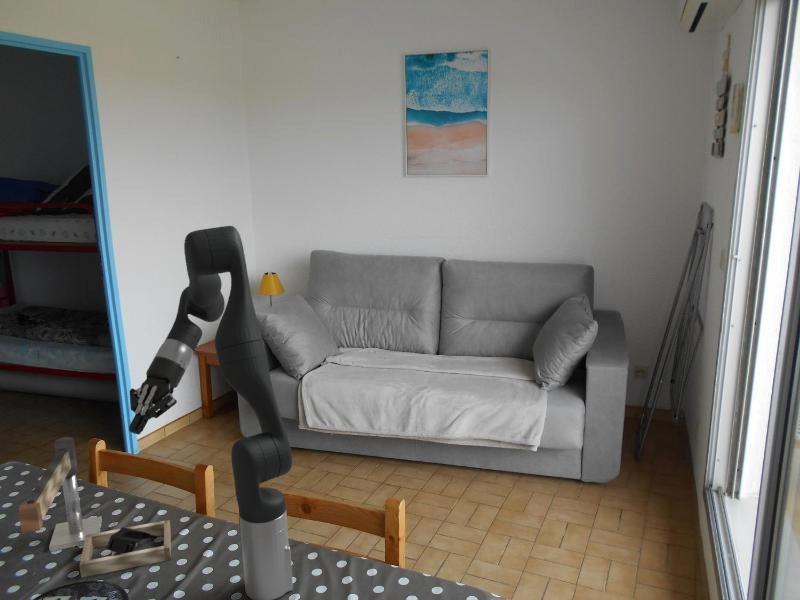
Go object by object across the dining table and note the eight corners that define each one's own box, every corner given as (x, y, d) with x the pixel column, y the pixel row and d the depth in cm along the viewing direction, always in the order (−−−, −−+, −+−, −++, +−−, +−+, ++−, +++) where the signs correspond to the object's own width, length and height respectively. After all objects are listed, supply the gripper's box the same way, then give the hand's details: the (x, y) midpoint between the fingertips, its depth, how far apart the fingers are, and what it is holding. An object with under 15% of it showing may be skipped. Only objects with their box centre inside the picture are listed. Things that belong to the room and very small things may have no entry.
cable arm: (61, 470, 152) (56, 438, 150) (79, 468, 153) (75, 436, 151) (20, 540, 124) (14, 502, 122) (43, 537, 125) (37, 499, 123)
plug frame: (170, 531, 155) (169, 519, 154) (170, 559, 144) (169, 547, 143) (87, 546, 149) (86, 534, 149) (81, 577, 138) (79, 565, 138)
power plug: (165, 536, 151) (126, 530, 141) (153, 570, 149) (113, 566, 139) (148, 530, 154) (109, 524, 144) (136, 564, 151) (95, 559, 141)
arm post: (102, 520, 160) (94, 461, 157) (97, 542, 151) (89, 480, 148) (56, 528, 157) (48, 468, 154) (49, 551, 148) (40, 488, 144)
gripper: (139, 352, 150) (101, 421, 142) (182, 358, 145) (145, 430, 136) (159, 367, 156) (123, 434, 148) (201, 374, 150) (166, 444, 142)
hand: (133, 432), depth 142 cm, fingers closed
